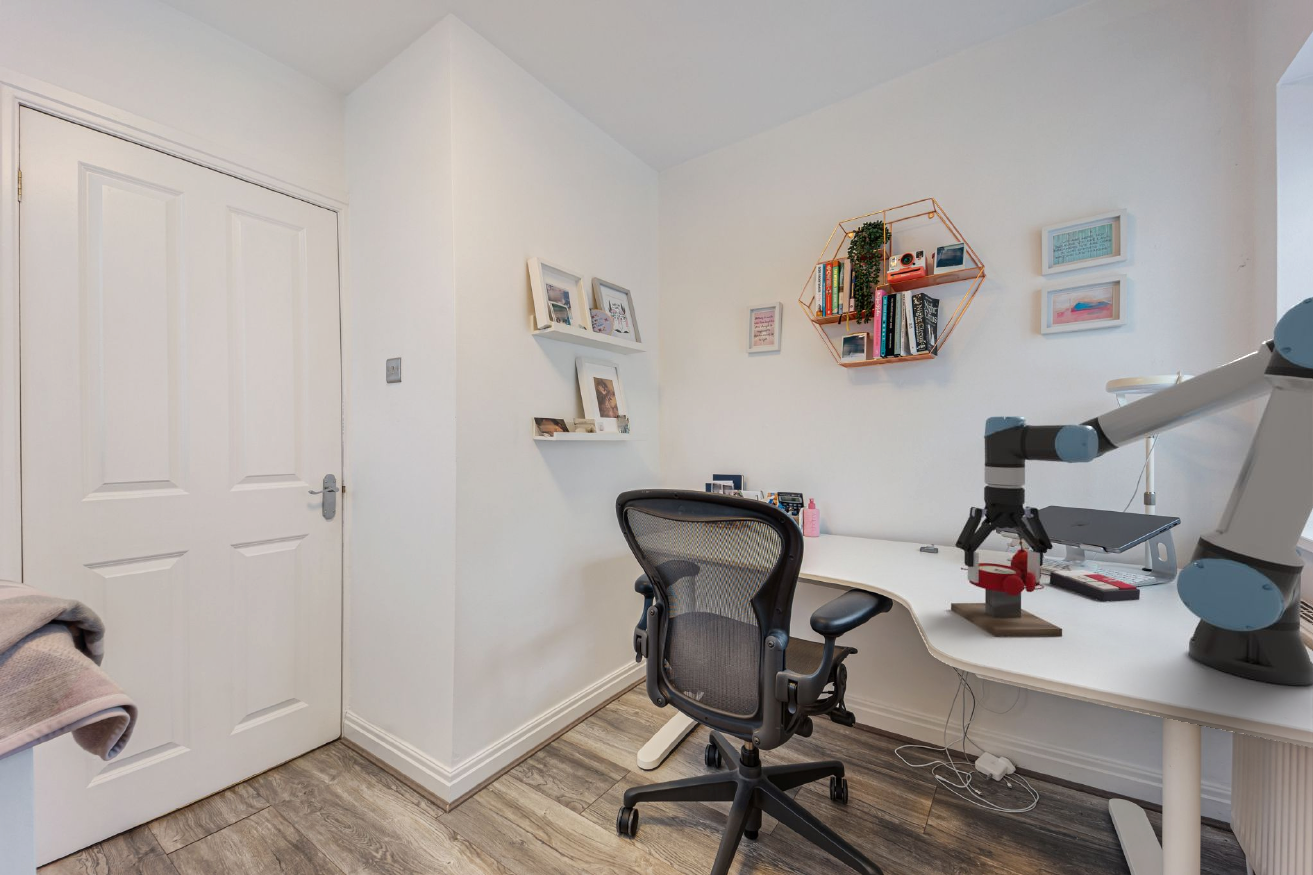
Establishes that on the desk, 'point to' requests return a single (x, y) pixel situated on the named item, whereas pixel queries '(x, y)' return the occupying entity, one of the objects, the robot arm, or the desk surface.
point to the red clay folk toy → (1021, 561)
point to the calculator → (1094, 585)
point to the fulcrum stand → (1005, 616)
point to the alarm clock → (1004, 579)
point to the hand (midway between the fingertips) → (1003, 580)
